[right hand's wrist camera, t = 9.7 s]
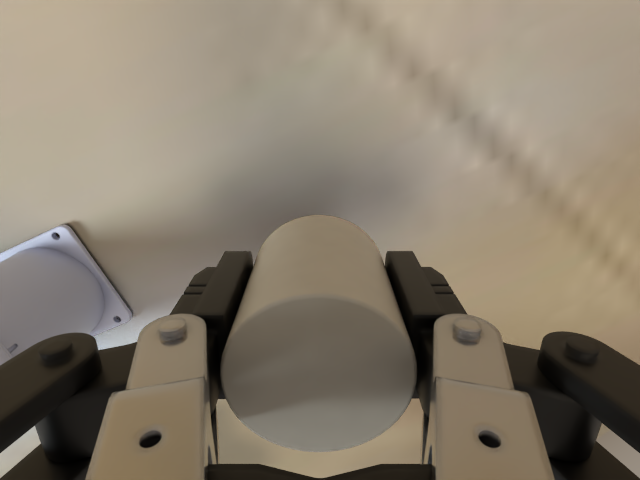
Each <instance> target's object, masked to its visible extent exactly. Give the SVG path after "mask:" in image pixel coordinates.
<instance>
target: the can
mask: <svg viewBox="0 0 640 480" xmlns="http://www.w3.org/2000/svg"><path fill="white" fill-rule="evenodd" d="M220 378H221V384H222V389H223V392H224V395H225V398H226V400H227V402H228V404H229V406H230V408H231V409H232V411H233V412H234V414H235V415H236V416H237V417H238V418H239V420H240V421H241V422H242V423H243V424H244V425H245V426H247V427H248V428H249V429H250V430H251V431H253V432H254V433H256V434H257V435H259V436H260V437H262V438H264V439H266V440H268V441H270V442H272V443H275V444H277V445H280V446H283V447H286V448H290V449H294V450H300V451H308V452H330V451H338V450H343V449H348V448H352V447H355V446H358V445H361V444H363V443H365V442H368V441H370V440H372V439H374V438H375V437H377V436H379V435H381V434H382V433H383V432H385V431H386V430H387V429H389V428H390V427H391V426H392V425H393V424H394V423H395V422H396V421H397V420H398V419H399V418H400V417H401V415H402V414H403V413H404V412H405V410H406V408H407V407H408V405H409V403H410V401H411V398H412V396H413V394H414V390H415V386H416V382H417V361H416V357H415V353H414V349H413V346H412V343H411V341H410V338H409V335H408V332H407V329H406V326H405V323H404V320H403V317H402V315H401V312H400V309H399V306H398V303H397V300H396V297H395V294H394V291H393V289H392V286H391V283H390V280H389V277H388V274H387V271H386V268H385V266H384V263H383V260H382V257H381V254H380V252H379V250H378V248H377V246H376V244H375V243H374V241H373V240H372V239H371V238H370V237H369V235H368V234H366V233H365V232H364V231H363V230H362V229H361V228H359V227H358V226H356V225H355V224H353V223H351V222H349V221H347V220H344V219H341V218H338V217H333V216H327V215H311V216H304V217H300V218H297V219H294V220H292V221H289V222H287V223H285V224H284V225H282V226H280V227H279V228H278V229H276V230H275V231H274V232H273V233H272V234H271V235H270V236H269V237H268V238H267V239H266V240H265V242H264V243H263V245H262V246H261V248H260V250H259V252H258V255H257V258H256V261H255V264H254V266H253V269H252V272H251V275H250V278H249V280H248V283H247V286H246V289H245V292H244V294H243V297H242V300H241V303H240V306H239V309H238V311H237V314H236V317H235V320H234V323H233V325H232V328H231V331H230V334H229V337H228V339H227V342H226V345H225V348H224V351H223V354H222V358H221V364H220Z"/></svg>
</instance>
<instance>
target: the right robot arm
mask: <svg viewBox="0 0 640 480" xmlns="http://www.w3.org/2000/svg"><path fill="white" fill-rule="evenodd" d="M385 268H386V271H387V274H388V277H389V280H390V283H391V286H392V289H393V291H394V294H395V297H396V300H397V303H398V306H399V309H400V312H401V315H402V317H403V320H404V323H405V326H406V329H407V332H408V335H409V338H410V341H411V343H412V346H413V349H414V353H415V357H416V361H417V382H416V386H415V390H414V394H413V396H412V398H419V399H420V403H421V406H422V409H423V419H422V436H421V459H420V464H379V465H375V466H371V467H367V468H363V469H359V470H355V471H351V472H347V473H343V474H339V475H335V476H331V477H327V478H313V477H309V476H305V475H301V474H297V473H293V472H289V471H285V470H281V469H277V468H273V467H269V466H265V465H261V464H220V459H219V436H218V419H217V411H216V403H217V400H218V399H226V398H225V395H224V392H223V389H222V384H221V378H220V364H221V358H222V354H223V351H224V348H225V345H226V342H227V339H228V337H229V334H230V331H231V328H232V325H233V323H234V320H235V317H236V314H237V311H238V309H239V306H240V303H241V300H242V297H243V294H244V292H245V289H246V286H247V283H248V280H249V278H250V275H251V272H252V269H253V260H252V254H251V252H250V251H226V252H225V253H224V254H223V256H222V258H221V260H220V262H219V264H218V265H217V267H207V268H205V269H204V270H202V271H201V272H199V273H198V274H196V275H195V276H194V277H193V279H192V281H191V282H190V284H189V287H187V288H186V290H185V292H184V295H182V296H181V298H180V299H179V301H178V303H177V304H176V306H175V307H174V309H173V310H172V312H171V314H170V315H169V316H165V317H162V318H159V319H157V320H155V321H153V322H151V323H149V324H148V325H147V326H145V327H144V328H143V329H142V331H141V332H140V334H139V337H138V341H137V342H135V343H132V344H128V345H124V346H119V347H114V348H108V349H103V350H98V347H97V343H96V340H95V338H94V337H93V336H91V335H89V334H86V333H66V334H61V335H57V336H53V337H50V338H47V339H45V340H42V341H40V342H38V343H36V344H35V345H33V346H31V347H29V348H28V349H26V350H25V351H23V352H21V353H20V354H18V355H16V356H15V357H13V358H11V359H10V360H8V361H7V362H5V363H3V364H2V365H0V453H1V452H2V451H3V450H5V449H6V448H7V447H8V446H10V445H11V444H12V443H13V442H15V441H16V440H17V439H18V438H20V437H21V436H22V435H23V434H25V433H26V432H27V431H28V430H30V429H31V428H32V427H33V426H35V427H36V430H37V433H38V436H39V439H40V441H41V444H40V445H39V446H38V447H36V448H35V449H34V450H33V451H32V452H31V453H29V454H28V455H27V456H26V457H25V458H24V459H22V460H21V461H20V462H19V463H18V464H17V465H15V466H14V467H13V468H12V469H11V470H10V471H8V472H7V473H6V474H5V475H4V476H3V477H1V478H0V480H640V478H638V477H637V476H636V475H635V474H634V473H633V472H631V471H630V470H629V469H628V468H627V467H626V466H625V465H623V464H622V463H621V462H620V461H619V460H618V459H616V458H615V457H614V456H613V455H612V454H611V453H609V452H608V451H607V450H606V449H605V448H604V447H602V446H601V445H600V444H599V443H598V442H597V441H596V439H597V436H598V433H599V430H600V427H601V424H602V423H603V424H604V425H605V426H607V427H608V428H609V429H610V430H612V431H613V432H614V433H615V434H617V435H618V436H619V437H620V438H622V439H623V440H624V441H625V442H627V443H628V444H629V445H630V446H632V447H633V448H634V449H635V450H637V451H638V452H639V453H640V365H638V364H637V363H635V362H633V361H632V360H630V359H628V358H627V357H625V356H624V355H622V354H620V353H619V352H617V351H615V350H614V349H612V348H611V347H609V346H607V345H606V344H604V343H602V342H600V341H598V340H596V339H594V338H591V337H588V336H585V335H582V334H578V333H572V332H552V333H549V334H547V335H546V336H545V337H544V338H543V340H542V344H541V348H540V350H536V349H531V348H526V347H520V346H515V345H511V344H506V343H503V341H502V337H501V334H500V332H499V331H498V329H497V328H496V327H495V326H493V325H492V324H491V323H489V322H487V321H485V320H483V319H481V318H478V317H475V316H471V315H468V314H467V313H466V311H465V310H464V308H463V306H462V305H461V303H460V302H459V300H458V299H457V297H456V295H455V294H454V292H453V291H452V289H451V287H450V286H449V284H448V283H447V281H446V279H445V278H444V276H443V275H442V274H440V273H439V272H437V271H436V270H434V269H433V268H431V267H421V266H420V264H419V262H418V260H417V258H416V256H415V255H414V253H413V251H387V253H386V259H385Z"/></svg>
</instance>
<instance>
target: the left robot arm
mask: <svg viewBox="0 0 640 480" xmlns="http://www.w3.org/2000/svg"><path fill="white" fill-rule="evenodd" d="M55 233H58V234H59V235H60V238H59V237H57V236H56V234H55ZM116 316H118V317H120V319H121V320H120V319H118V318H117V317H116ZM131 318H132V313H131V311H130V310H129V308H128V307H127V306H126V304H125V303H124V301H123V300H122V299H121V297H120V296H119V294H118V293H117V292H116V290H115V289H114V287H113V286H112V285H111V283H110V282H109V280H108V279H107V278H106V276H105V275H104V273H103V272H102V271H101V269H100V268H99V266H98V265H97V264H96V262H95V261H94V259H93V258H92V257H91V255H90V254H89V253H88V251H87V250H86V248H85V247H84V246H83V244H82V243H81V241H80V240H79V239H78V237H77V236H76V234H75V233H74V232H73V230H72V229H71V228H70V227H69V226H68V225H64V224H63V225H59V226H57V227H55V228H53V229H51V230H49V231H47V232H44V233H42V234H40V235H38V236H36V237H34V238H32V239H29V240H27V241H25V242H23V243H21V244H19V245H17V246H14V247H12V248H10V249H8V250H6V251H4V252H2V253H0V365H2V364H3V363H5V362H7V361H8V360H10V359H11V358H13V357H15V356H16V355H18V354H20V353H21V352H23V351H25V350H26V349H28V348H29V347H31V346H33V345H35V344H36V343H38V342H40V341H42V340H45V339H47V338H50V337H53V336H57V335H61V334H66V333H86V334H89V335H91V336H95V335H97V334H100V333H102V332H104V331H107V330H109V329H112V328H114V327H117V326H119V325H122V324H124V323H126V322H128V321H129V320H130V319H131Z"/></svg>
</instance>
